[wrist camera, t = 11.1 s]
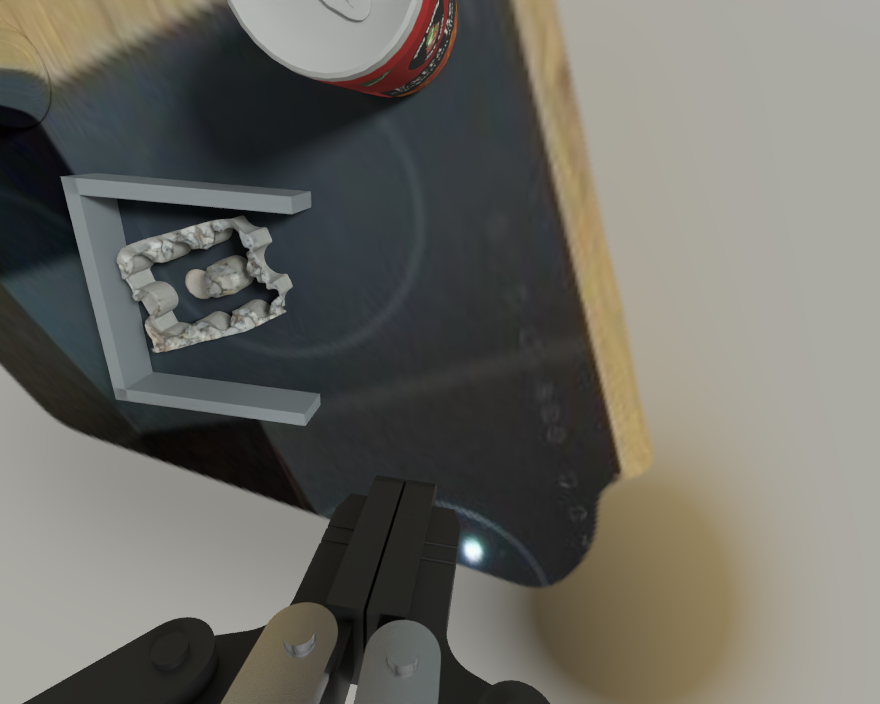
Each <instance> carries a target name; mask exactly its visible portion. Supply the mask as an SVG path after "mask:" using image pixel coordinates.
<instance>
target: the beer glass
mask: <svg viewBox="0 0 880 704" xmlns="http://www.w3.org/2000/svg"><path fill="white" fill-rule="evenodd" d="M50 96H51V92H50V82H49V78H48V74H47V71H46V68H45V66H44V64H43V62H42V60H41V58H40V56H39V54H38V53H37V51H36V50H35V48H34V47H33V46H32V44H31V43H30V42H29V41H28V40H27V39H26V38H25V37H24V36H23V35H22V34H21V33H20V32H19V31H17V30H16V29H15V28H13V27H11V26H10V25H8V24H5V23H3V22H1V21H0V125H2V126H7V127H12V128H27V127H31V126H34V125H36V124H37V123H39V122H40V121H41V120H42V119H43V118H44V116H45V115H46V113H47V111H48V108H49V104H50Z"/></svg>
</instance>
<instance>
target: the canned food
mask: <svg viewBox="0 0 880 704" xmlns="http://www.w3.org/2000/svg"><path fill="white" fill-rule="evenodd" d="M227 1H228V4H229V6H230V7H231V9H232V11H233V12H234V14H235V16H236V18H237V19H238V21H239V23H240V25H241V26H242V27H243V29H244V30H245V31H246V32H247V34H248V35H249V36H250V37H251V38H252V40H253V41H254V42H255V43H256V44H257V45H258V46H259V47H260V48H261V49H262V50H263V51H264V52H266V53H267V54H268V55H269V56H270V57H271V58H272V59H274V60H276V61H277V62H279V63H280V64H282V65H284V66H285V67H287V68H289V69H290V70H292V71H294V72H295V73H298V74H300V75H303V76H306V77H309V78H311V79H314V80H318V81H321V82H323V83H327V84H331V85H335V86H339V87H343V88H347V89H351V90H356V91H360V92H364V93H368V94H372V95H376V96H382V97H401V96H405V95H408V94H411V93H414V92H416V91H418V90H420V89H421V88H423V87H425V86H426V85H428V84H429V83H430V82H431V81H432V80H433V79H434V78H435V77H436V76H437V75H438V74H439V72H440V71H441V69H442V68H443V66H444V65H445V63H446V61H447V59H448V57H449V55H450V53H451V50H452V47H453V44H454V40H455V36H456V28H457V5H456V0H227Z"/></svg>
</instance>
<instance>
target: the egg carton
mask: <svg viewBox="0 0 880 704" xmlns="http://www.w3.org/2000/svg"><path fill="white" fill-rule="evenodd" d="M233 229H236V230H237V231H238V232H239V236H240V239H241V241H242V245H243V246H244V247H245V248H248V249H250V250H249V251H248V252H247V253H246V255H247V257H248V260H247V259H246V258H244V257H242V256H239V255H233V256H230V257H227V258H225V259H222V260H220V261H218V262H215V263H213V265H212V266H209V267H207V270H206V272H205V271H203V270H199V269H194V270H191V271H189V272H188V274H187V275H186V280H185V283H186V286H187V288H188V290H189V292H190V293H192V294H193V295H194V296H195V297H197V298H200V299H208V298H209V297H216V298H218V297H221V296H224V295H231V294H235V293H237V292H238V291H240V290H241V289H243V288H245V287H246V286H248V285H250V284H251V283H252V282H253V280H254V277H256V278H257V281H258V282H260V283H266V287H267V289H269V290H270V289H276V290H278V292H279V297H277V298H276V299H275V300H274V301H273V302H272V303H271V306H270V305H269V304H268V303H266V302H265V301H263V300H252V301H250V302H248V303H246V304H245V305H243V306H241V307H240V308H238V309H236V310H234V311H232V314H233V315H232V317H231V316H230V315H229V314H227V313H224V312H221V311H217V312H214V313H212V314H210V315H208V316H207V317H205V318H203V319H201V320H199V321H197V322H196V323H195V324H188V323H183V322H178V321H177V319H176V317H175V316H174V314H173V311H172V310H173V309H174V308H176V306H177V305H178V296H177V293H176V291H175V290H174V289H173V288H172V287H171V286H170V285H169V284H168V283H165V282H162V281H155V280H154V278H153V275H152V273H151V271H150V267H151V266H152V265H153V264H154V262H160V263H164V262H168V261H171V260H173V259H176V258H179V257H181V256H184V255H186V254H188V253H189V252H190V251H191V249H199V248H200V249H208V248H209V247H211V246H213V245H216V244H219V243H221V242H223V241H226V240H228V239H229V238H230V237H231V235H232V232H233ZM271 242H272V239H271V236H270V234H269V232H268V230H267V228H266V227H256V226H253V225H252V224H251V223H249V222H248V220H247V219H246V218H245V216H243V215H242V216H238V217H235V218H232V219H220V220H214V221H209V222H205V223H202V224H198V225H194V226H190V227H188V228H185V229H182V230H176V231H173V232H170V233H166V234H163V235H159V236H155V237H152V238H147V239H144V240H141V241H139V242H136V243H133V244H130V245H128V246H126V247H124V248H122V249H121V250H120V251H119V254H118V257H117V260H116V262H117V264H118V266H119V268H120V270H121V274H122V279H126V281H127V282H128V283H129V285H130V287H131V289H132V292H133V294H132V298H133V299H134V300H135V301H140V300H141V301H142V302H143V304H144V306H145V307H146V309H147V311H148V312H149V314H150V317H148V318H147V320H146V321H145V327H146V331H147V333H148V334H149V336H150V338H151V339H152V342H153V345H154V348H151V351H152V352H153V353H158V352H163V351H164V352H165V351H170V350H173V349H178V348H182V347H186V346H189V345H193V344H195V343H198V342H202V341H207V340H213V339H217V338H220V337H223V336H228V335H232V334H236V333H241V332H245V331H247V330H249V329H252V328H254V327H256V326H258V325H260V324H262V323H264V322H266V321H268V320H270V319H272V318H275V317H277V316H279V315H281V314H282V313H284V312H286V310H284V309H283V306H285V301H284V298H285V294H286V293H287V291H288V290H289V289H291V288H292V287H293V286H292V283H291V281H290V279H289V276H288V275H287V274H279V273H276V272H274V271H272V270H271V269H270V268H269V267H268V266H267V264H266V262H265V260H264V252H265V249H266V247H267V246H268V245H269V244H270V243H271Z"/></svg>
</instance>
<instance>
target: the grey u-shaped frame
mask: <svg viewBox="0 0 880 704" xmlns="http://www.w3.org/2000/svg"><path fill="white" fill-rule="evenodd" d="M61 180H62V184H63V188H64V192H65V196H66V200H67V204H68V208H69V212H70V216H71V220H72V224H73V228H74V233H75V237H76V241H77V245H78V249H79V253H80V257H81V261H82V265H83V269H84V273H85V277H86V281H87V285H88V289H89V293H90V297H91V301H92V305H93V309H94V313H95V317H96V321H97V325H98V329H99V333H100V337H101V341H102V345H103V349H104V353H105V357H106V361H107V365H108V369H109V373H110V377H111V381H112V385H113V390H114V394H115V398H116V400H124V401H131V402H138V403H145V404H152V405H160V406H167V407H174V408H181V409H188V410H195V411H203V412H210V413H217V414H224V415H231V416H238V417H246V418H253V419H260V420H267V421H274V422H282V423H289V424H296V425H303V426H306V424H307V423H308V421H309V420H310V419H311V417H312V416H313V415H314V413H315V412H316V410H317V409H318V408H319V406H320V394H317V393H310V392H302V391H294V390H287V389H279V388H272V387H264V386H256V385H249V384H241V383H234V382H226V381H218V380H211V379H203V378H196V377H188V376H180V375H173V374H165V373H158V372H152V367H151V362H150V357H149V352H148V347H147V343H146V338H145V333H144V328H143V323H142V318H141V314H140V309H139V304H138V301H135V300H134V299H133V298H132V294H133V292H132V289H131V287H130V285H129V283H128V282H127V281H126V279H122V274H121V270H120V268H119V266H118V264H117V262H116V260H117V257H118V254H119V251H120V250H121V249H122V248H124V247H126V241H125V236H124V231H123V226H122V222H121V217H120V212H119V207H118V202H117V198H120V199H131V200H142V201H153V202H164V203H175V204H186V205H196V206H207V207H218V208H229V209H240V210H251V211H262V212H273V213H284V214H294V213H297V212H300V211H303V210H306V209H308V208H311V191H300V190H289V189H277V188H265V187H254V186H242V185H231V184H219V183H207V182H196V181H184V180H173V179H161V178H149V177H138V176H126V175H115V174H103V173H94V174H83V175H73V176H62V177H61Z"/></svg>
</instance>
